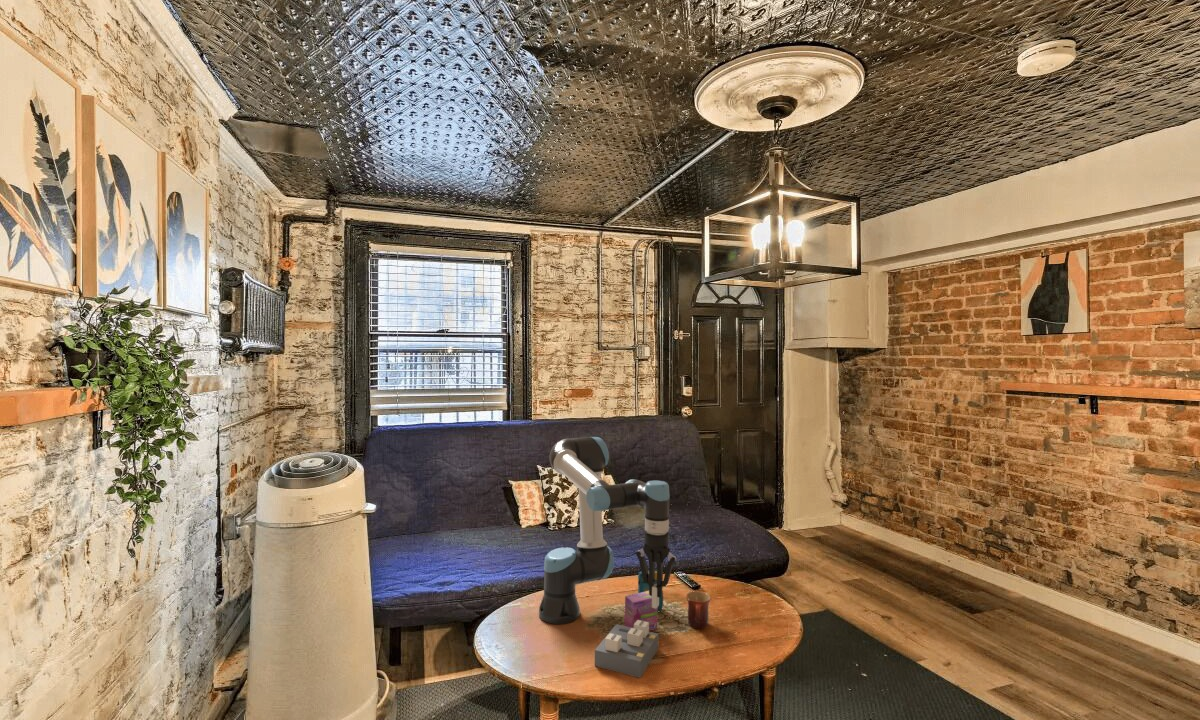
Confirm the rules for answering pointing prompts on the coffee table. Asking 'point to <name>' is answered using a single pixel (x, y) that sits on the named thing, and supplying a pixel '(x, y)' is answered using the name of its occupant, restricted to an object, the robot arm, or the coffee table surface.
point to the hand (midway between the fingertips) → (655, 606)
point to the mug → (698, 609)
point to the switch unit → (627, 653)
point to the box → (640, 610)
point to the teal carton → (645, 587)
